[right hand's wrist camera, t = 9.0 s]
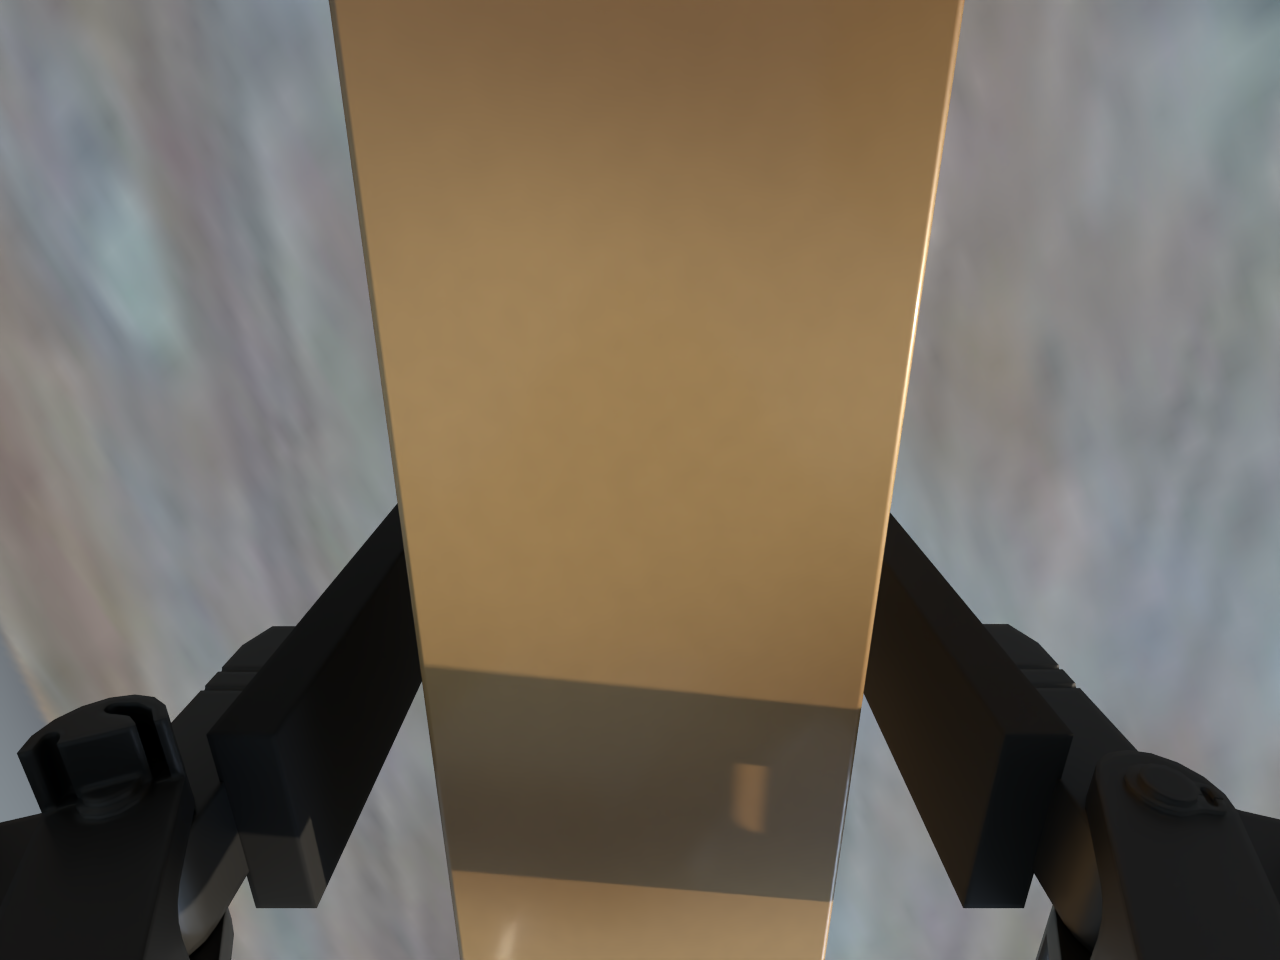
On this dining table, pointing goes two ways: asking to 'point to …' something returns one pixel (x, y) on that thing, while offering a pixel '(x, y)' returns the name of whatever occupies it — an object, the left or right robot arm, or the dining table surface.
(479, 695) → the bar
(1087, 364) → the dining table surface
